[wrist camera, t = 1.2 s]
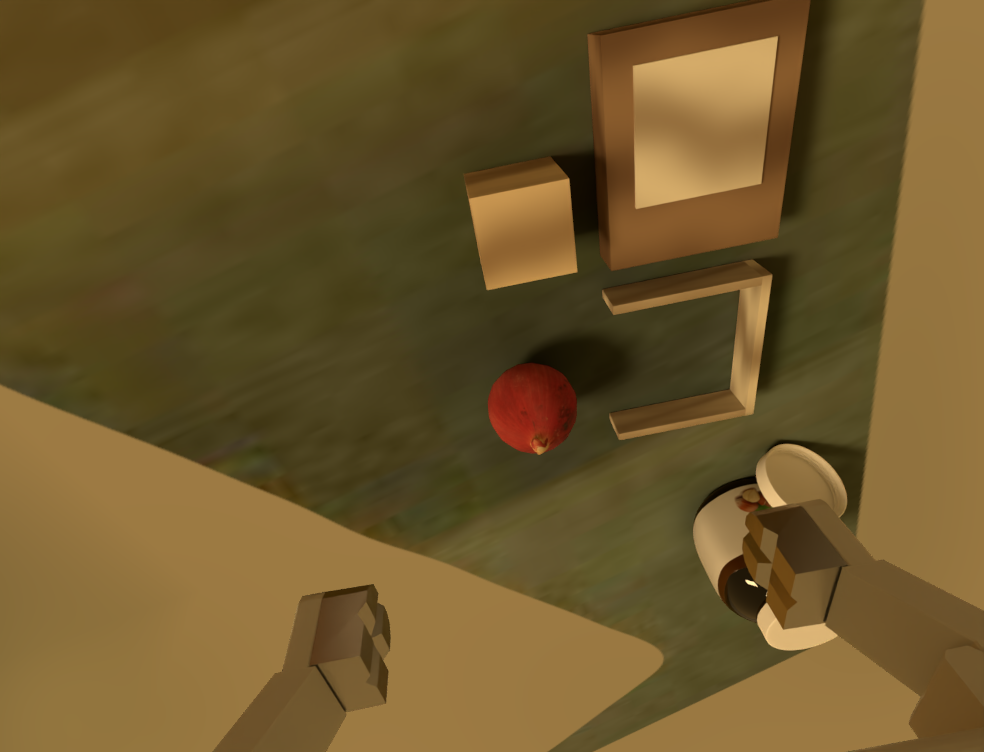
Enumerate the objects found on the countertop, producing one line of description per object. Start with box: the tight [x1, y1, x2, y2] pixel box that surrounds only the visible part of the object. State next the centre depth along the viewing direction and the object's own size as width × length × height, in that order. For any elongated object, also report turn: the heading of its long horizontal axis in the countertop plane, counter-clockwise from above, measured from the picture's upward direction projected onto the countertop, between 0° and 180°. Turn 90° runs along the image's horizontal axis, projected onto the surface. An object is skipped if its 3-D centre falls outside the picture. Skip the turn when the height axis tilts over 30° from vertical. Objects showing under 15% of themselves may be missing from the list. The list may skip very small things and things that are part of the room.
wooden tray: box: [588, 0, 811, 440], centre depth 33 cm, size 26×10×3 cm, turn 10°
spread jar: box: [693, 443, 847, 650], centre depth 43 cm, size 12×11×12 cm
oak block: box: [464, 156, 577, 290], centre depth 30 cm, size 5×5×5 cm
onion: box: [488, 363, 577, 455], centre depth 35 cm, size 6×6×8 cm
